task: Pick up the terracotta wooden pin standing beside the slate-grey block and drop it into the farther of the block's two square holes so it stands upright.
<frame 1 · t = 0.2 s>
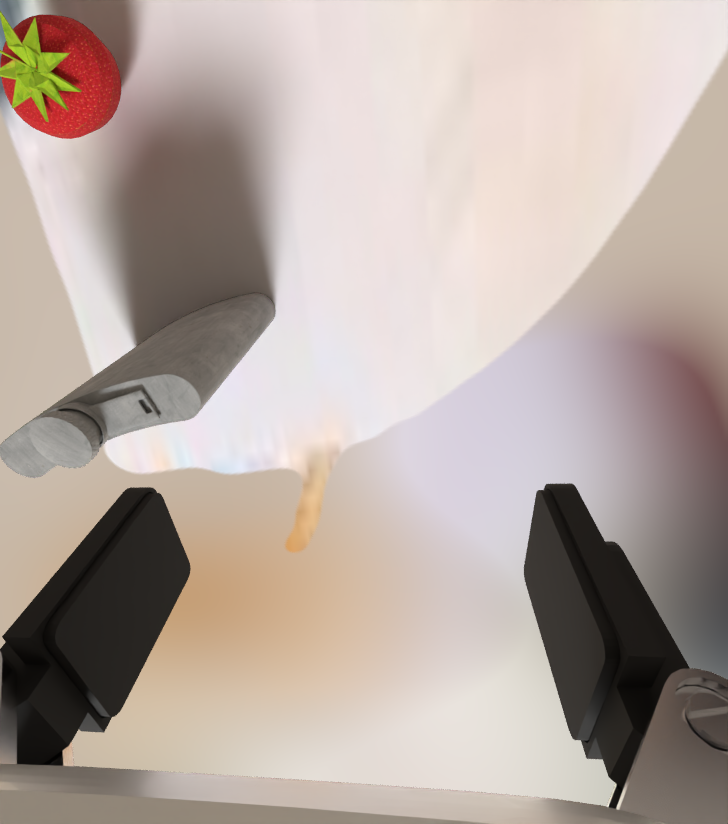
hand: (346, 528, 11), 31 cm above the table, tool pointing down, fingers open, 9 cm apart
strawberry: (111, 92, 33), on the table
hip flask: (202, 329, 42), on the table
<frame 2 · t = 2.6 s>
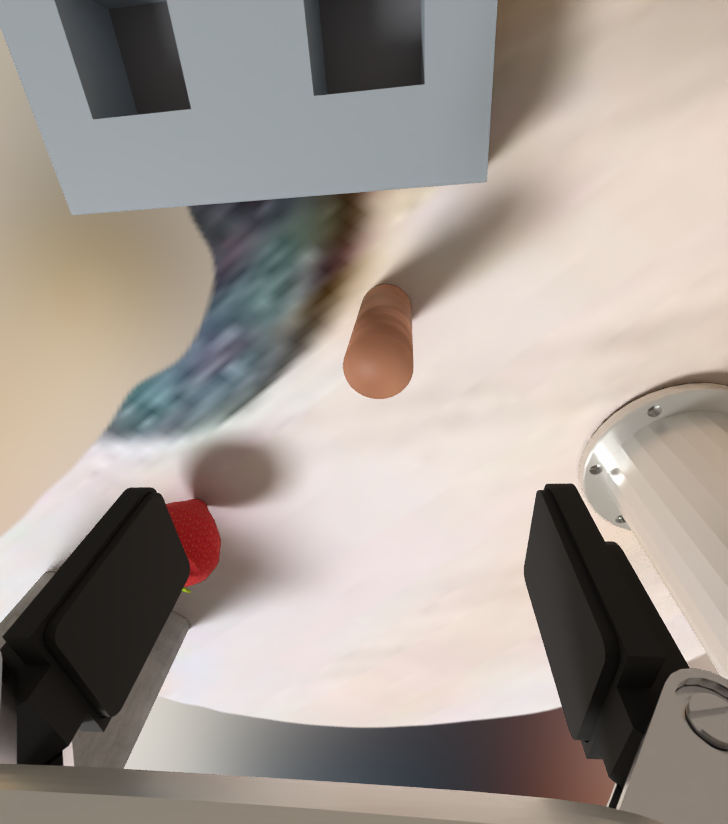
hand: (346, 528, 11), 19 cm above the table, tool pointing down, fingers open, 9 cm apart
strawberry: (200, 498, 37), on the table
hip flask: (119, 598, 46), on the table
hole block: (273, 58, 21), on the table
pin: (386, 309, 27), on the table
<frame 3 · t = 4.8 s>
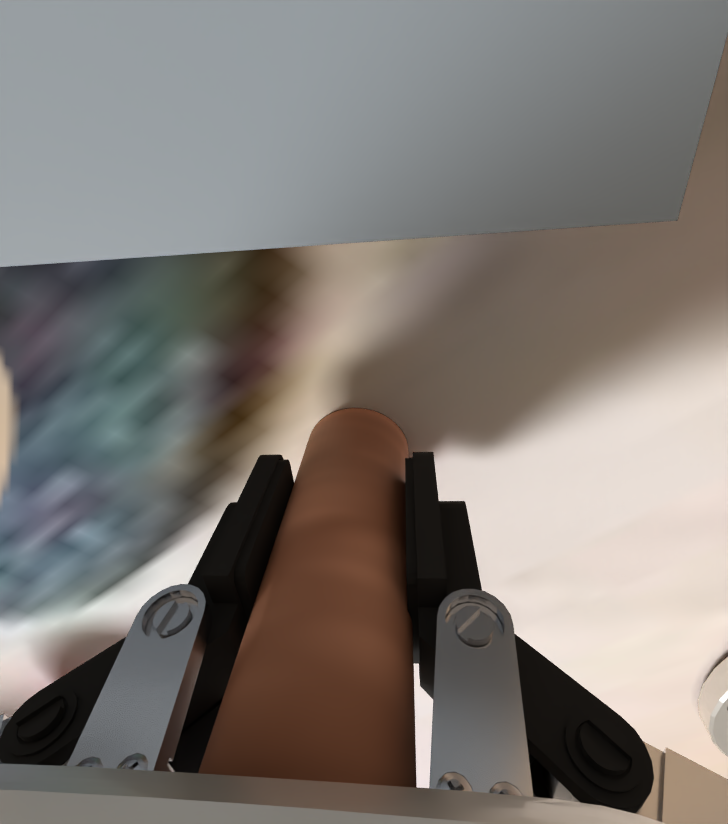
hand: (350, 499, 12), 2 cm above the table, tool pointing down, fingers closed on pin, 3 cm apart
pin: (357, 451, 14), on the table, touching gripper
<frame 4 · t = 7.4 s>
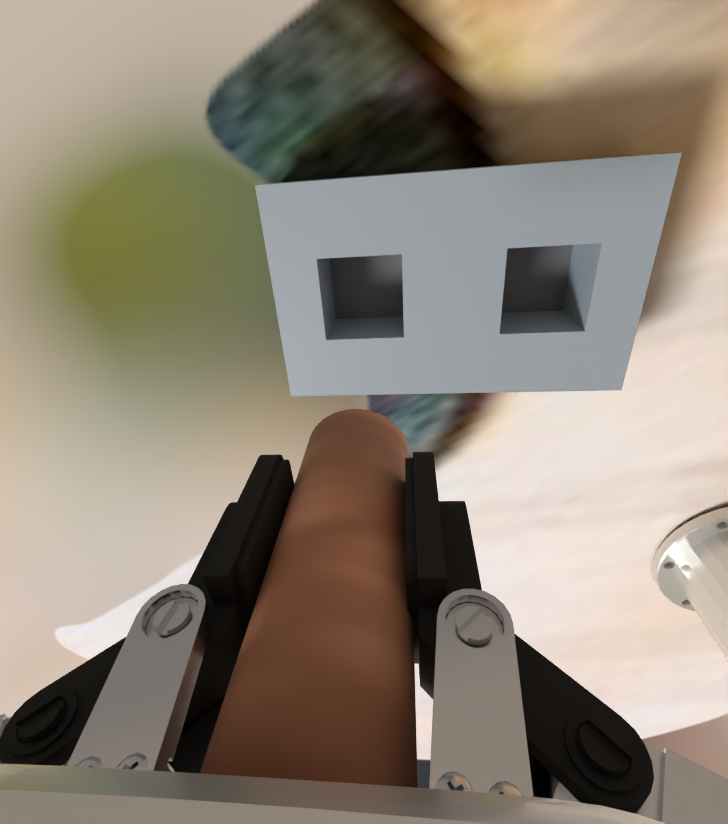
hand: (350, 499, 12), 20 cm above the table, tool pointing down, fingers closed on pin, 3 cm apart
hole block: (445, 275, 28), on the table
pin: (358, 452, 14), point 18 cm above the table, touching gripper
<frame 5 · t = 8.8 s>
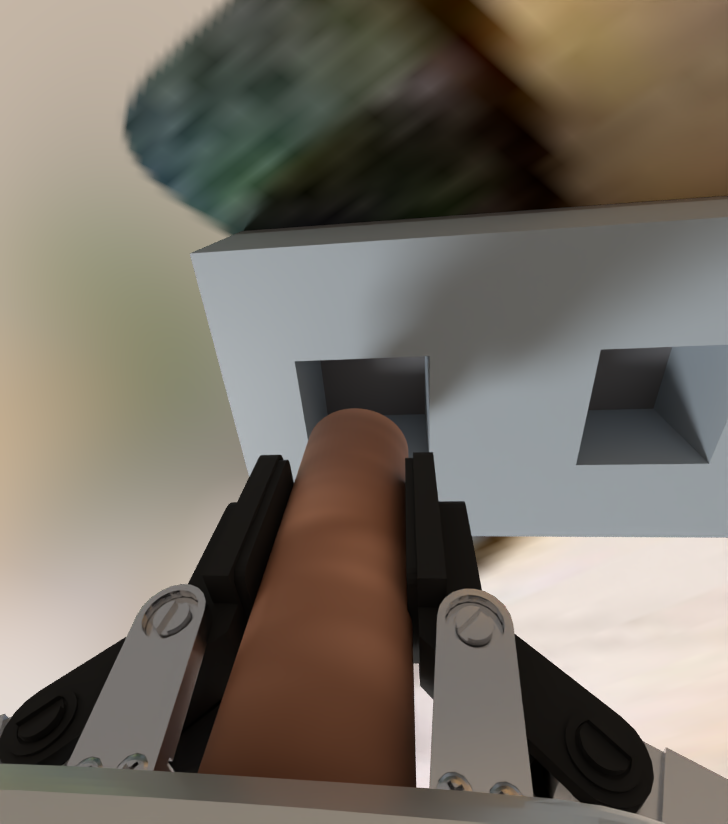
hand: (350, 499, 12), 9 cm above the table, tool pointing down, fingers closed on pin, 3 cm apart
hole block: (483, 357, 19), on the table
pin: (357, 451, 14), point 7 cm above the table, touching gripper
when the fingers open (6 cm above the table, at t = 9.9 s): pin drops 2 cm, resting on hole block.
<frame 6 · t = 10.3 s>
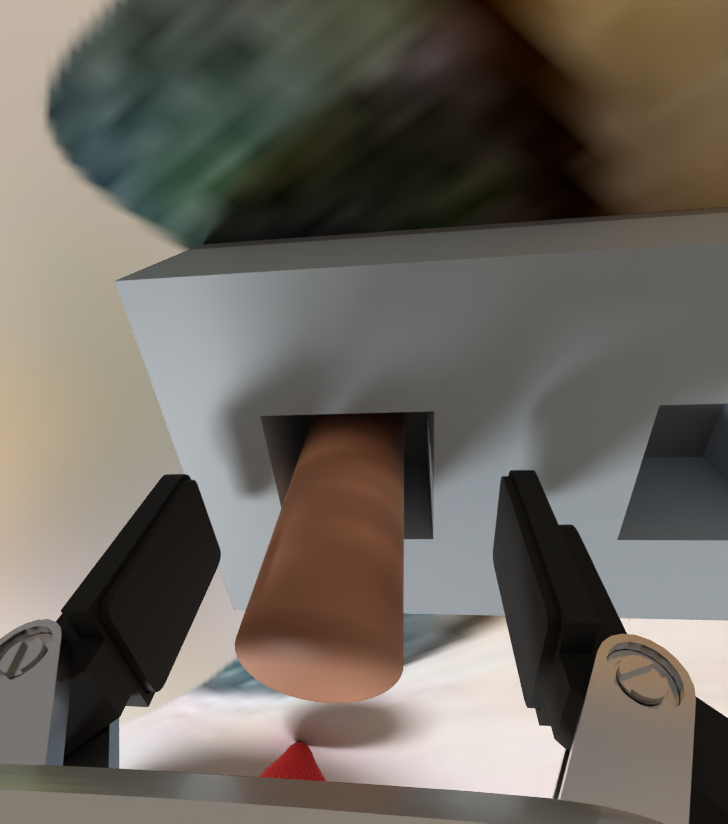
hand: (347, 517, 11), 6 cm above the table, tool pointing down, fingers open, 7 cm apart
strawberry: (301, 739, 32), on the table
hole block: (497, 395, 16), on the table
pin: (360, 412, 16), point 1 cm above the table, touching hole block
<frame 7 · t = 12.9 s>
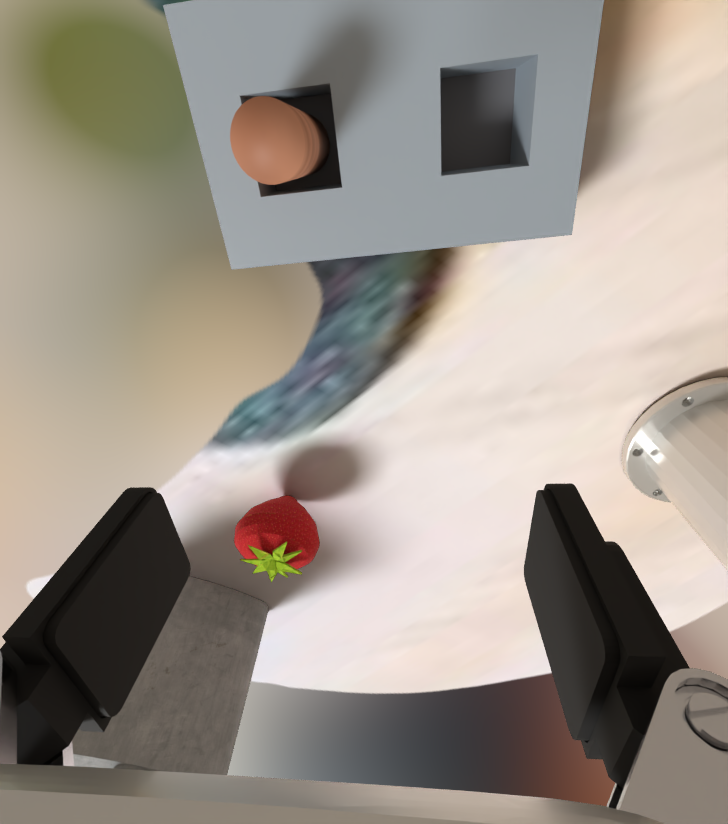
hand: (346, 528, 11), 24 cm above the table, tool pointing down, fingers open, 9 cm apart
strawberry: (289, 495, 42), on the table
hip flask: (205, 588, 51), on the table
hole block: (387, 134, 26), on the table
pin: (303, 145, 26), point 1 cm above the table, touching hole block
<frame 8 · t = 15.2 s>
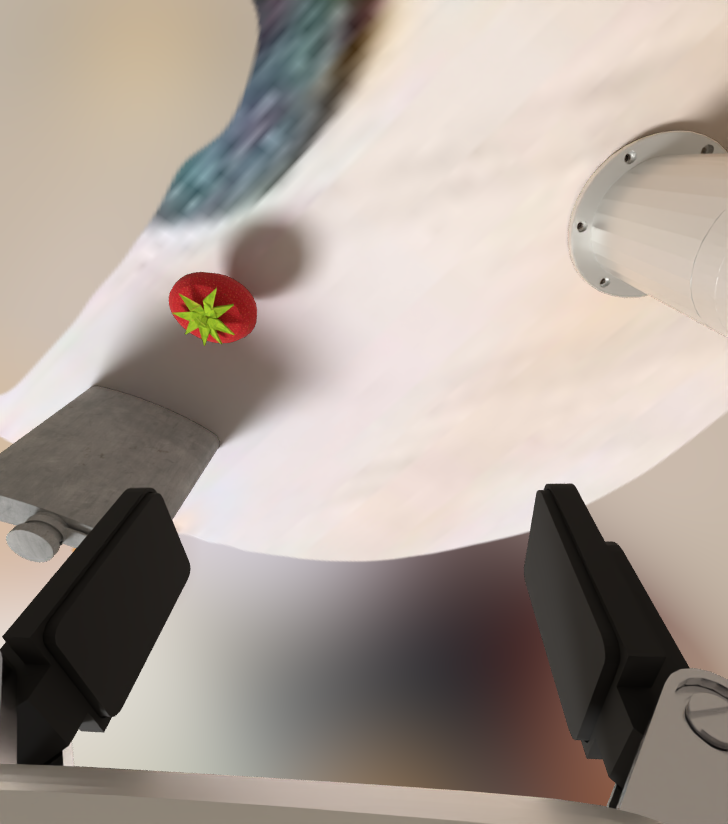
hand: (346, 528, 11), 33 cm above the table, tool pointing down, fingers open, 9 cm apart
strawberry: (235, 291, 42), on the table
hip flask: (156, 416, 50), on the table
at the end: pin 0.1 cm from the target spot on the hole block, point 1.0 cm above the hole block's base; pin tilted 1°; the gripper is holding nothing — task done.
